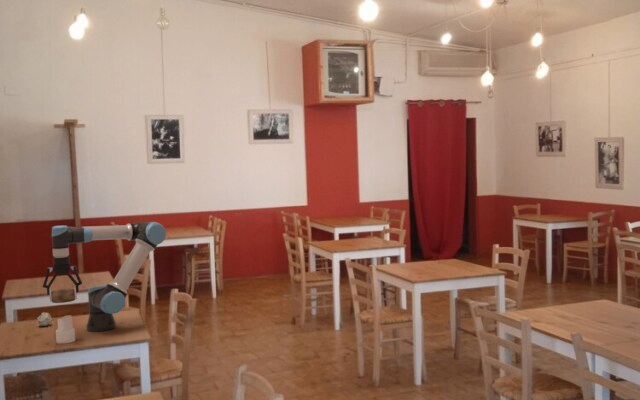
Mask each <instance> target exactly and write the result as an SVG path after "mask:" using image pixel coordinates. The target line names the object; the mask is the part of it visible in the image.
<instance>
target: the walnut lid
mask: <svg viewBox="0 0 640 400" xmlns="http://www.w3.org/2000/svg"><path fill="white" fill-rule="evenodd" d="M51 291H52V292H51V297H52V302H51V303H52V304H65V303H71V302H74V301H75V300H76V299H75V292H74V288H61V289H60V288H59V289H56V290H51Z"/></svg>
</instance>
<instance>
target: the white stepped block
mask: <svg viewBox="0 0 640 400" xmlns="http://www.w3.org/2000/svg"><path fill="white" fill-rule="evenodd" d="M56 321H57V329H55V338H56V340H55V341H56V344H69V343H73V342H76V331H75V330H76V329H75V327H74V326H73V316H72V315H64V316H62V317H60V318H57V320H56Z"/></svg>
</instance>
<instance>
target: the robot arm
mask: <svg viewBox="0 0 640 400" xmlns="http://www.w3.org/2000/svg"><path fill="white" fill-rule="evenodd" d="M166 237H167V232H166V228H165V227H164V225H163V224H161V223H160V222H157V221H139V222H138V221H137V222H132V223H131V222H130V223H126V224H125V225H118V224H117V225H96V226H95V225H93V226H91V225H90V226H68V225H54V226H52V227H51V242H52V256H53V258H52V263H53V266H52V267H47V268H46V274H45V278H44V282H43V284H42V288H45V289H46V294H47V296H49V302H51V303H52V297H51V292H52V291H53V290H52V287H51V286H52V284H53V283H54V281H55V280H56V278H57V276H67V277H68V278H69V279H70V281H71V282H72V283H73V284H74V286H73V287H74V288H73V289H74V292H75V300H77V299H78V298H77V295H78V294H77V293H79V290H80V289H79V288H80V287H79V286H81V285H82V284H83V281H82V279H81V278H80V275H79V273H78V269H77V266H76V265H70V251H69V250H70V248H69V247H70V246H69V245H72V244H81V243H83V244H84V243H85V244H86V243H90V242H92V241H108V240H109V241H110V240H111V241H113V240H127V241H128V242H129V241H133V242H135V244H134V246H133V247H132V250H130V253H129V255H128V256H127V258H126V259H125V260H124V263H123V264H122V265H121V267H120V268H119V270H118V272H117V273H116V275H115V277H114V278H113V280H112V282H111V281H110V282H109V283H107V284H105V285H97V286H92V287H91V286H90V287H89V288H88V291H87V292H88V293H87V297H88V312H89V316H88V319H87V323H86V331H88V332H103V331H104V330H105V331H110V330H113V329H115V328H116V327H117V323H116V320H115V316H114V314H118V313H119V312H121V311H122V310H123V308H124V307H125V304H126V297H127V296H128V291H127V290H128V288H129V286H130V285H131V283H132V282H133V280H134V279H135V277H136V275H137V274H138V273H139V270H140V269H141V267H142V266H143V263H145V261H146V259H147V258H148V255H149V254H150V252H152V251H155V250H156V249H157V246H158V245H160V244H162V243H164V241H165V239H166ZM70 270H72V271H73V273H74V275H75V277H76V279H77V280H76V279H75V278H74V277H73V275H72V274H71V272H70ZM52 271H53V272H54V274H53V276H52V277H51V280H50V281H49V283H48V280H49V277H50V274H51V272H52ZM47 283H48V284H47ZM112 328H113V329H112ZM109 329H110V330H109Z"/></svg>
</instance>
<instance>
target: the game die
mask: <svg viewBox="0 0 640 400" xmlns="http://www.w3.org/2000/svg"><path fill="white" fill-rule="evenodd" d="M50 313H51V311H49V312H44V311H41V313H40V314H39V315H38V316H37V317H35V319H36V320H37V322H38V324H39V327H41V326H45V327H46V328H48V326H49V325H50V323H51V322H52V321H53V318H52V316H51V314H50Z"/></svg>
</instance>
